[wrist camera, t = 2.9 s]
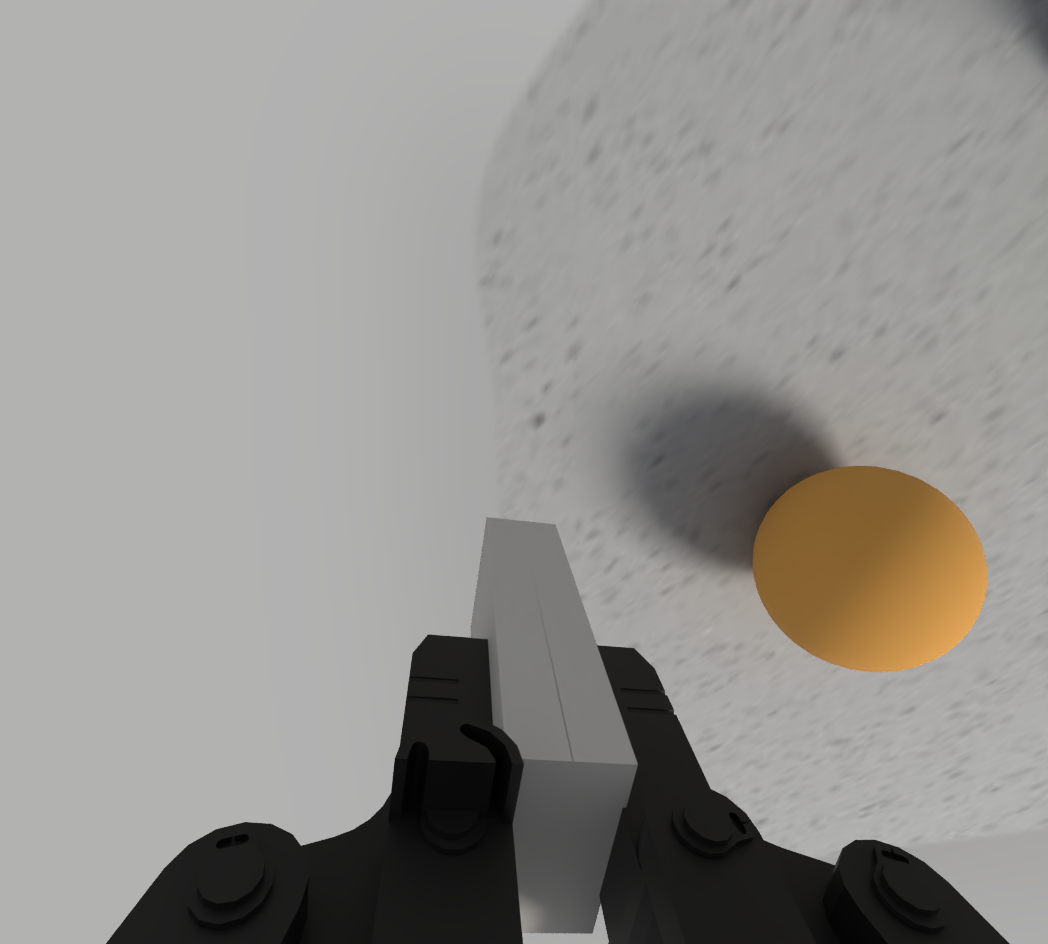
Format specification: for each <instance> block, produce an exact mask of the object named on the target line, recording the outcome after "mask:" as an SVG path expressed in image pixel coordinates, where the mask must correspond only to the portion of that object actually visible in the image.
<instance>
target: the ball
mask: <svg viewBox="0 0 1048 944" xmlns="http://www.w3.org/2000/svg"><path fill="white" fill-rule="evenodd" d="M753 573H754V578H755V583H756V588H757V590H758V593H759V596H760V598H761V600H762V603H763V605H764V607H765V608H766V610H767V612H768V614H769V615H770V616H771V618H772V619H773V621H774V622H775V623H776V624H777V626H778V627H779V628H780V629H781V630H782V631H783V632H784V633H785V634H786V635H787V636H788V637H789V638H790V639H791V640H792V641H793V642H795V643H796V644H797V645H799V646H800V647H801V648H803V649H804V650H806V651H807V652H809V653H811V654H812V655H814V656H816V657H818V658H820V659H822V660H825V661H827V662H829V663H832V664H835V665H838V666H842V667H845V668H849V669H853V670H860V671H868V672H889V671H899V670H905V669H910V668H913V667H916V666H920V665H922V664H925V663H927V662H929V661H932V660H934V659H936V658H938V657H940V656H942V655H943V654H945V653H946V652H948V651H949V650H950V649H952V648H953V647H954V646H955V645H957V644H958V643H959V642H960V641H961V640H962V639H963V638H964V637H965V635H966V634H967V633H968V632H969V630H970V629H971V628H972V626H973V625H974V623H975V621H976V619H977V617H978V615H979V613H980V611H981V608H982V606H983V603H984V599H985V595H986V588H987V565H986V560H985V556H984V551H983V548H982V545H981V542H980V540H979V538H978V536H977V534H976V532H975V530H974V528H973V526H972V525H971V523H970V521H969V520H968V519H967V518H966V516H965V515H964V514H963V512H962V511H961V510H960V509H959V508H958V507H957V506H956V505H955V504H954V503H953V502H952V501H951V500H950V499H949V498H947V497H946V496H945V495H944V494H943V493H941V492H940V491H939V490H937V489H936V488H934V487H932V486H931V485H929V484H927V483H925V482H924V481H922V480H920V479H918V478H915V477H913V476H910V475H907V474H905V473H902V472H899V471H895V470H890V469H885V468H880V467H872V466H850V467H841V468H836V469H831V470H827V471H824V472H820V473H817V474H815V475H812V476H810V477H808V478H806V479H804V480H802V481H801V482H799V483H797V484H796V485H794V486H793V487H791V488H790V489H789V490H787V491H786V492H785V493H784V494H783V495H782V496H780V497H779V498H778V499H777V500H776V502H775V503H774V504H773V505H772V506H771V508H770V509H769V511H768V512H767V514H766V515H765V517H764V519H763V521H762V523H761V525H760V527H759V529H758V532H757V535H756V538H755V543H754V550H753Z"/></svg>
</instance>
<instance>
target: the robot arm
mask: <svg viewBox="0 0 1048 944" xmlns="http://www.w3.org/2000/svg"><path fill="white" fill-rule="evenodd" d="M600 903H601V906H602V910H603V915H604V920H605V925H606V929H607V934H608V939H609V943H608V944H1009V943H1008V942H1007V941H1006V940H1005V939H1004V938H1003V937H1002V936H1001V935H1000V934H999V933H998V932H997V931H996V930H995V929H994V928H993V927H992V926H991V925H990V924H989V923H988V922H987V921H986V920H985V919H984V918H983V917H982V916H981V915H980V914H979V913H978V912H977V911H976V910H975V909H974V908H973V907H972V906H971V905H970V904H969V903H968V902H967V901H966V900H965V899H964V898H963V896H961V895H960V894H959V893H958V891H956V889H954V887H953V886H951V884H949V882H947V881H946V880H945V879H944V878H943V877H941V876H940V875H939V874H938V873H937V872H935V871H934V870H933V869H932V868H930V867H929V866H928V865H927V864H926V863H925V862H923V861H921V860H920V859H918V858H916V857H914V856H913V855H911V854H909V853H907V852H906V851H904V850H902V849H901V848H899V847H896V846H892V845H889V844H886V843H883V842H880V841H877V840H855V841H853V842H852V843H850V844H848V845H847V846H845V847H844V848H842V851H841V853H840V855H839V858H838V860H837V862H836V865H832V864H829V863H826V862H823V861H820V860H817V859H814V858H811V857H808V856H805V855H802V854H799V853H796V852H793V851H790V850H787V849H784V848H781V847H779V846H776V845H774V844H771V843H769V842H767V841H764V840H763V839H762V837H761V835H760V833H759V831H758V830H757V828H756V827H755V826H754V824H753V823H752V821H751V820H750V819H749V817H748V816H747V814H746V813H745V812H744V811H743V810H741V809H740V808H739V807H738V806H737V805H735V804H734V803H733V802H732V801H731V800H729V799H728V798H727V797H725V796H723V795H721V794H719V793H717V792H715V791H713V790H711V789H710V787H709V784H708V782H707V780H706V778H705V776H704V774H703V772H702V769H701V767H700V765H699V763H698V761H697V759H696V757H695V754H694V752H693V750H692V748H691V746H690V744H689V742H688V739H687V737H686V735H685V733H684V731H683V729H682V727H681V724H680V722H679V720H678V718H677V716H676V715H674V709H673V707H672V705H671V703H670V701H669V699H668V696H667V695H665V690H664V688H663V686H662V684H661V681H660V679H659V677H658V675H657V673H656V671H655V669H654V667H652V666H651V665H650V664H649V663H648V662H647V661H646V660H645V659H644V658H643V657H642V656H641V655H640V654H639V653H638V652H637V651H636V650H635V649H634V648H624V647H611V646H598V645H597V644H596V641H595V638H594V635H593V633H592V630H591V627H590V624H589V621H588V618H587V615H586V612H585V609H584V606H583V603H582V600H581V598H580V595H579V592H578V589H577V586H576V583H575V580H574V577H573V574H572V571H571V568H570V566H569V563H568V560H567V557H566V554H565V551H564V548H563V545H562V542H561V539H560V536H559V534H558V531H557V528H556V525H555V524H545V523H536V522H526V521H517V520H507V519H498V518H487V519H486V526H485V533H484V540H483V547H482V554H481V561H480V568H479V574H478V581H477V588H476V596H475V602H474V609H473V616H472V623H471V638H466V637H452V636H439V635H427V637H426V638H425V639H424V640H423V641H422V643H421V644H420V645H419V646H418V648H417V649H416V650H415V651H414V652H413V656H412V662H411V669H410V677H409V684H408V691H407V699H406V706H405V713H404V721H403V727H402V735H401V742H400V747H399V750H398V752H397V755H396V758H395V763H394V772H393V782H392V792H391V794H390V796H389V797H388V799H387V800H386V802H385V804H384V805H383V807H382V808H381V809H380V810H379V811H378V812H377V813H376V814H375V815H374V816H373V817H372V818H371V819H369V820H368V821H366V822H365V823H363V824H362V825H360V826H358V827H357V828H355V829H354V830H351V831H349V832H346V833H343V834H341V835H338V836H336V837H332V838H329V839H325V840H321V841H318V842H314V843H310V844H307V845H303V846H301V845H300V844H299V843H298V842H297V840H296V839H295V837H294V836H293V835H292V834H291V833H289V832H286V831H285V830H283V829H281V828H278V827H276V826H274V825H272V824H263V823H249V822H244V823H240V824H236V825H233V826H228V827H224V828H220V829H216V830H214V831H213V832H211V833H209V834H207V835H205V836H204V837H202V838H200V839H198V840H196V841H195V842H193V843H191V844H189V845H188V846H187V847H186V848H185V849H184V850H183V851H182V852H181V853H180V854H179V855H177V857H175V858H174V859H173V860H172V861H171V862H170V863H169V864H168V865H167V866H166V867H165V868H164V869H163V871H162V872H161V873H160V875H159V876H158V877H157V879H156V880H155V881H154V882H153V884H152V885H151V886H150V887H149V889H148V890H147V891H146V893H145V894H144V895H143V897H142V898H141V899H140V900H139V902H138V903H137V904H136V906H135V907H134V908H133V910H132V911H131V912H130V913H129V915H128V916H127V917H126V918H125V920H124V921H123V923H122V924H121V925H120V926H119V928H118V929H117V930H116V931H115V933H114V934H113V935H112V937H111V938H110V939H109V940H108V942H107V943H106V944H523V940H522V933H593V929H594V926H595V922H596V918H597V914H598V911H599V907H600Z"/></svg>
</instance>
